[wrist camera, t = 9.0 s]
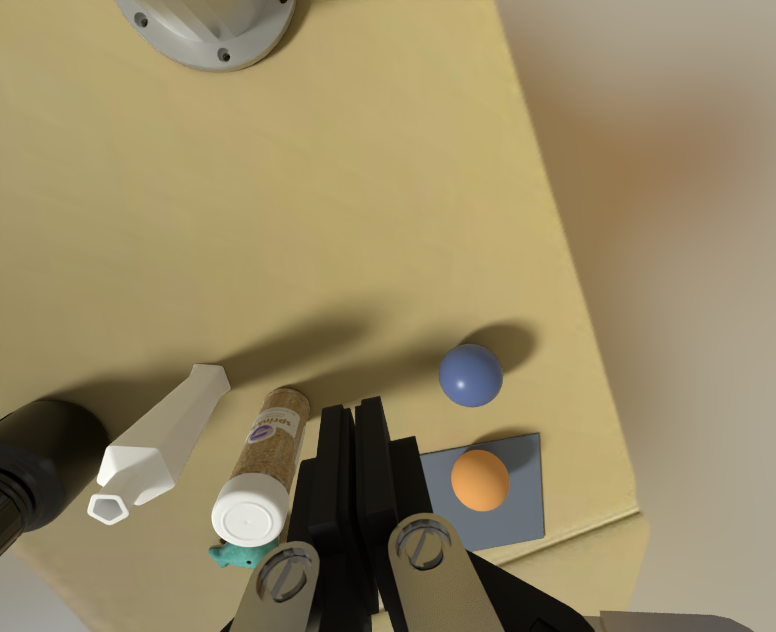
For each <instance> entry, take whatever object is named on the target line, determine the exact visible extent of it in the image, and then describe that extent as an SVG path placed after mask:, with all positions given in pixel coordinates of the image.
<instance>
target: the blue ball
mask: <svg viewBox="0 0 776 632" xmlns="http://www.w3.org/2000/svg"><path fill="white" fill-rule="evenodd" d="M439 381H440V385H441V387H442V389H443V391H444V393H445V394H446V395H447V396H448V397H449V398H450V399H451V400H452V401H453V402H455V403H457V404H459V405H461V406H465V407H479V406H483V405H485V404H487V403H489V402H490V401H492V400H493V399H494V398H495V397H496V396H497V394H498V393H499V391H500V389H501V387H502V383H503V370H502V366H501V364H500V362H499V360H498V358H497V357H496V356H495V355H494V354H493V353H492V352H491V351H490V350H489V349H487V348H485V347H483V346H481V345H477V344H463V345H459V346H457V347H455V348H453V349H452V350H450V351H449V352H448V353H447V354H446V355H445V357H444V358H443V360H442V362H441V365H440V368H439Z"/></svg>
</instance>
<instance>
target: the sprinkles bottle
mask: <svg viewBox="0 0 776 632" xmlns="http://www.w3.org/2000/svg"><path fill="white" fill-rule="evenodd" d="M309 413H310V407H309V402H308V400H307V399H306V397H305V396H304V395H303V394H301V393H299V392H298V391H295V390H294V389H289V388H287V389H285V388H283V389H277V390H274V391H273V392H271V393H269V394H268V395H267V397H266V398H265V399H264V401H263V403H262V408H261V410H260V413H259V415H258V416H257V418H256V420H255V421H254V424H253V426H252V428H251V430H250V432H249V434H248V437H247V439H246V441H245V444H244V447H243V449H242V452H241V453H240V456H239V458H238V461H237V463H236V465H235V467H234V470H233V472H232V475H231V477H230V479H229V481H228V482H227V483H226V484H225V485H224V486H223V488H222V490H221V492H220V494H219V496H218V498H217V500H216V503H215V505H214V508H213V511H212V524H213V527H214V529H215V531H216V532H217V533H218V534H219V535H220V536H221V537H222V538H223V539H224V540H226V541H227V542H229V543H231V544H234V545H237V546H241V547H257V546H261V545H264V544H267V543H269V542H271V541H272V540H274V539H275V538H276V537H277V536H278V535H279V534H280V532H281V531H282V529H283V527H284V524H285V520H286V516H287V512H288V508H289V493H290V488H291V484H292V481H293V477H294V475H295V472H296V468H297V464H298V460H299V456H300V451H301V447H302V443H303V438H304V434H305V426H306V422H307V419H308V418H309Z"/></svg>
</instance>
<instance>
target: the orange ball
mask: <svg viewBox="0 0 776 632" xmlns="http://www.w3.org/2000/svg"><path fill="white" fill-rule="evenodd" d="M451 482H452V487H453V490H454V492H455V494H456V496H457V497H458V499H459V500H460V501H461V502H462V503H463V504H464V505H465V506H467V507H468V508H470V509H473V510H476V511H490V510H493V509H495V508H497V507H499V506H500V505H501V504H502V503H503V502H504V500H505V499H506V497H507V495H508V491H509V486H510V480H509V475H508V472H507V469H506V467H505V465H504V464H503V463H502V461H501V460H500V459H499V458H498V457H497V456H495V455H494V454H492V453H490V452H488V451H484V450H472V451H468V452H466V453H464V454H463V455H461V456H460V457H459V458H458V459H457V461H456V462H455V464H454V466H453V469H452V473H451Z"/></svg>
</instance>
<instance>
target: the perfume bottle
mask: <svg viewBox="0 0 776 632" xmlns="http://www.w3.org/2000/svg"><path fill="white" fill-rule="evenodd" d="M230 390H231V387H230V384H229V381H228V379H227V376H226V373H225V371H224V368H223V367H222V366H219V365H206V364H195V365H194V366H193V369H192V371H191V374H190V376H189V377H188V378H187V379H186V380H185V381H183V382H182V383H181V384H180V385H179V386H178V387H176V388H175V389H174V390H173V391H172V392H171V393H169V394H168V395H167V396H166V397H165V398H164V399H162V400H161V401H160V402H159V403H158V404H157V405H155V406H154V407H153V408H152V409H151V410H150V411H148V412H147V413H146V414H145V415H144V416H143V417H141V418H140V419H139V420H138V421H137V422H136V423H134V424H133V425H132V426H131V427H130V428H129V429H127V430H126V431H125V432H124V433H123V434H122V435H120V436H119V437H118V438H117V439H116V440H115V441H113V442H112V443H111V444H110V445H109V446H108V447H107V448H106V451H105V454H104V457H103V461H102V464H101V467H100V471H99V474H98V477H97V483H98V484H100V485H101V486H103V488H102V489H101V490H100V491H99V493H98V494H94V495H92V497H91V500H90V503H89V507H88V511H87V512H88V514H89V515H90V516H92V517H94V518H96V519H98V520H100V521H101V522H103V523H105V524H107V525H112V524H114V523H116V522H118V521H120V520H122V519H124V518H126V517H127V516H128V515H129V509H130V508H131V507H132V505H133V504H135V505H142V504H144V503H146V502H147V501H149V500H151V499H153V498H155V497H157V496H159V495H160V494H162V493H164V492H166V491H168V490H170V489H172V488H173V487H174V486H175V484H176V482H177V480H178V478H179V476H180V474H181V472H182V470H183V468H184V466H185V465H186V463H187V461H188V459H189V457H190V455H191V453H192V451H193V449H194V447H195V445H196V443H197V441H198V439H199V437H200V435H201V433H202V432H203V430H204V428H205V426H206V424H207V422H208V420H209V418H210V416H211V414H212V412H213V410H214V408H215V406H216V404H217V402H218V401H219V399H220V397H221V396H223V395H224V394H225V393H227V392H228V391H230Z"/></svg>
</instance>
